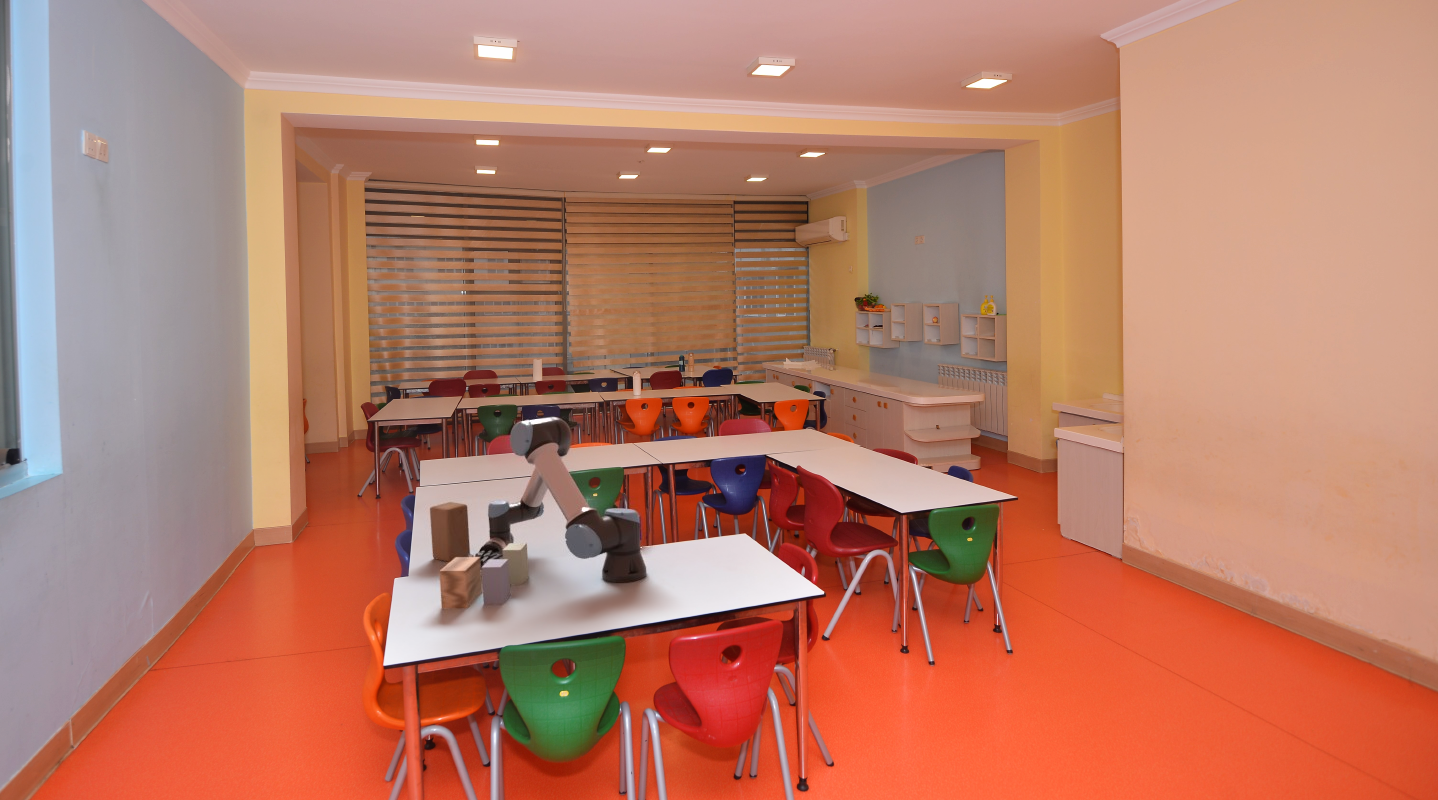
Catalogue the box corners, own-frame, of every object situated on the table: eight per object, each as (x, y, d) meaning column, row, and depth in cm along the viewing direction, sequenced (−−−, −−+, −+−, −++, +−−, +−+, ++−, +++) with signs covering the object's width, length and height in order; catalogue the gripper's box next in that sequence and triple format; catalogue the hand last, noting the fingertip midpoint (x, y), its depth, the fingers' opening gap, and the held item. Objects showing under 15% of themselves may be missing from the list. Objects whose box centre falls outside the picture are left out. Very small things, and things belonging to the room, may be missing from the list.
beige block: (528, 577, 270) (526, 543, 268) (522, 584, 262) (520, 549, 261) (511, 577, 270) (509, 543, 269) (504, 585, 262) (502, 550, 261)
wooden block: (471, 555, 296) (468, 503, 294) (449, 563, 288) (446, 509, 286) (453, 552, 301) (450, 501, 299) (431, 559, 293) (428, 506, 291)
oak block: (482, 592, 255) (480, 556, 254) (467, 608, 241) (465, 570, 240) (457, 593, 255) (455, 557, 254) (441, 608, 241) (439, 571, 240)
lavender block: (510, 595, 252) (508, 559, 251) (502, 604, 244) (500, 567, 243) (491, 595, 252) (489, 559, 251) (483, 604, 244) (481, 567, 243)
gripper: (511, 561, 280) (490, 583, 257) (475, 561, 281) (451, 583, 257) (510, 540, 280) (489, 561, 256) (473, 541, 280) (450, 561, 256)
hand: (470, 572), depth 257 cm, fingers closed
